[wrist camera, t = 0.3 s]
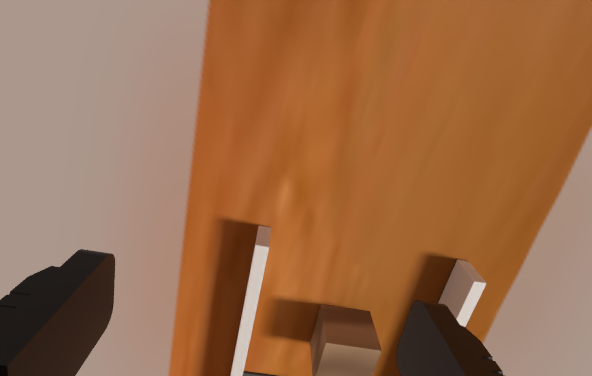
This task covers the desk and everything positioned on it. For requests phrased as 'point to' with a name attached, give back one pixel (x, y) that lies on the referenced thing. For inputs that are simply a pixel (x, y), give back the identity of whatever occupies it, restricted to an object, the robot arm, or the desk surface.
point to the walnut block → (344, 343)
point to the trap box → (456, 294)
